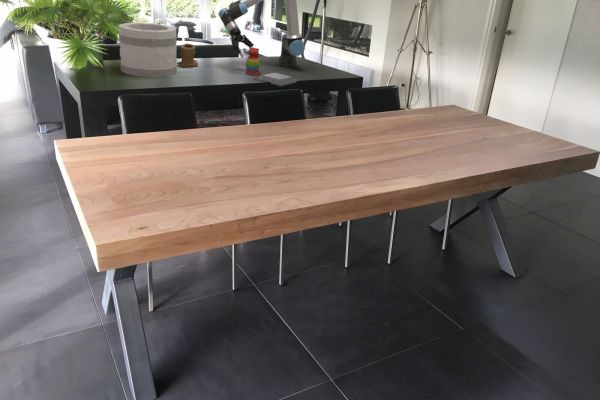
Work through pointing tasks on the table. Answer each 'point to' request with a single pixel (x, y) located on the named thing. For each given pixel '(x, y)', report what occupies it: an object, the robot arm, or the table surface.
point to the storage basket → (148, 49)
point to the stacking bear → (253, 62)
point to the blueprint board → (277, 79)
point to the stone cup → (187, 55)
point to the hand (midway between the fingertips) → (249, 56)
